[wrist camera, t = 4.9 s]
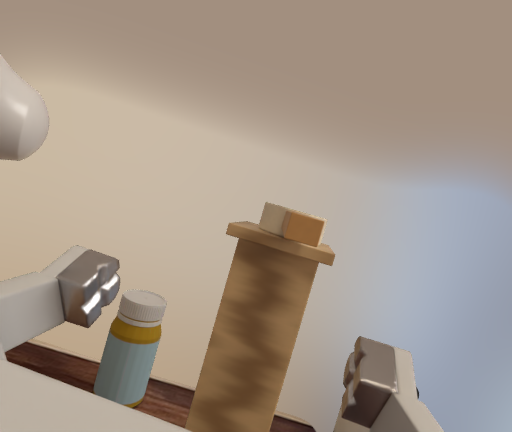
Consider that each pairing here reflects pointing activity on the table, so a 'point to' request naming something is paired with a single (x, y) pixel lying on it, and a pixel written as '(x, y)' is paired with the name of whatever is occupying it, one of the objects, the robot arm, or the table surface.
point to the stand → (254, 331)
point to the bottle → (131, 348)
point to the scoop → (293, 224)
